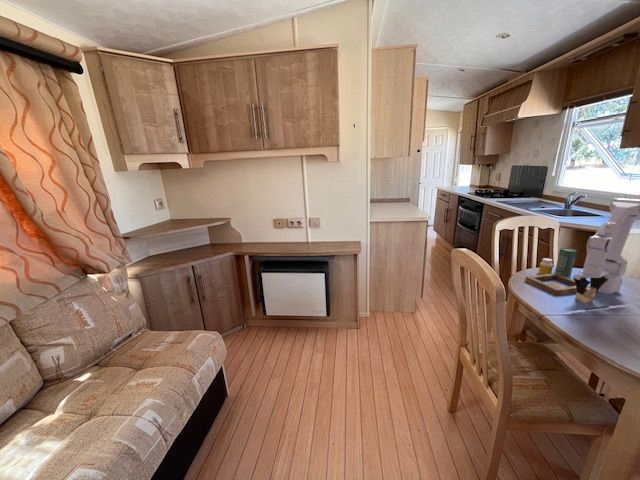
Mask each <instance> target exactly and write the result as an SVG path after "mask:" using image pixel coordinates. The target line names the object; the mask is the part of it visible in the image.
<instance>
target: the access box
mask: <svg viewBox="0 0 640 480" xmlns="http://www.w3.org/2000/svg"><path fill="white" fill-rule="evenodd" d="M554 279H555V280H558V281H561V282H564V283H565V284H568V285H570V286H565V285H563V284H560V283H558V282H555V281H551V282H544V281H545V280H547V281H548V280H554ZM524 281H525V282H527V283H528V284H530V285H533V286H534V287H537V288H539V289H541V290H544V291H545V292H547V293H550V294H553V295H555V296H562V295H569V294H576V293H577V288H576V283H575V281H574V279H573V278H569V277H568V276H562V275H560V274H557V273H555V272H554V273H551V274H544V275H540V274H537V275H535V274H534V275H527V276H525V279H524Z"/></svg>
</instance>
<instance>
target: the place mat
mask: <svg viewBox="0 0 640 480" xmlns="http://www.w3.org/2000/svg"><path fill="white" fill-rule="evenodd" d="M607 308H608V309H609V308H610V306H609V305H604V306H596V307H588V308H584V310H585V311H594V310H602V309H607Z"/></svg>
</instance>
